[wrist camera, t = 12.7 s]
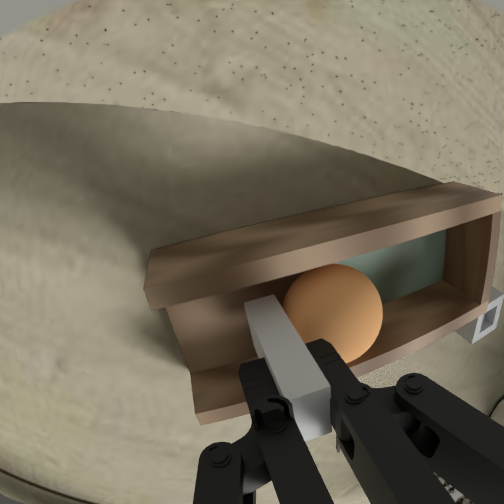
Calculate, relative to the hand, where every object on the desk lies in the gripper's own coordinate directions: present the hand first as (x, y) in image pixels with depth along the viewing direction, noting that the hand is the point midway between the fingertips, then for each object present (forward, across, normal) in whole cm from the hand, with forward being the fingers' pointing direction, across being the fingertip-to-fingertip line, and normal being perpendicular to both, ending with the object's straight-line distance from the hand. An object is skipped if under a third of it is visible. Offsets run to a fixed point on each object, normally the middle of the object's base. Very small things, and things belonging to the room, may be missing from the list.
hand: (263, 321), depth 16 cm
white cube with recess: (+3, +18, -7) cm, 20 cm away
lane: (+3, +5, 0) cm, 6 cm away
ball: (-1, +3, 0) cm, 3 cm away
